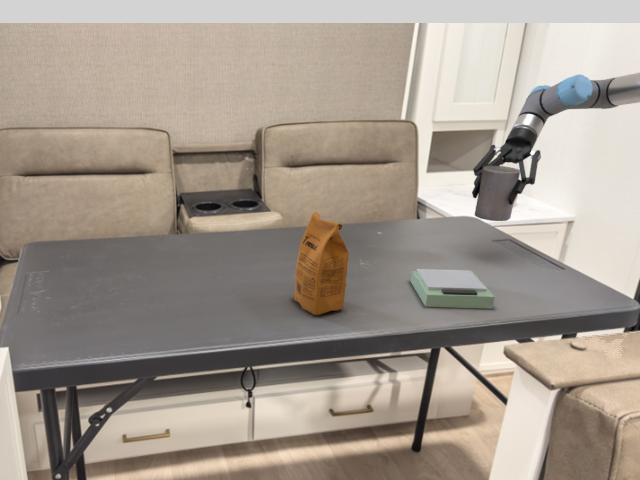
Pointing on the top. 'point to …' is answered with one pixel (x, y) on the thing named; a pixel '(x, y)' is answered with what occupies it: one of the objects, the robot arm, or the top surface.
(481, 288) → the scale
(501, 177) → the pillar candle
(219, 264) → the top surface
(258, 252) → the top surface
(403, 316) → the top surface
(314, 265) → the coffee package
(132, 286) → the top surface
